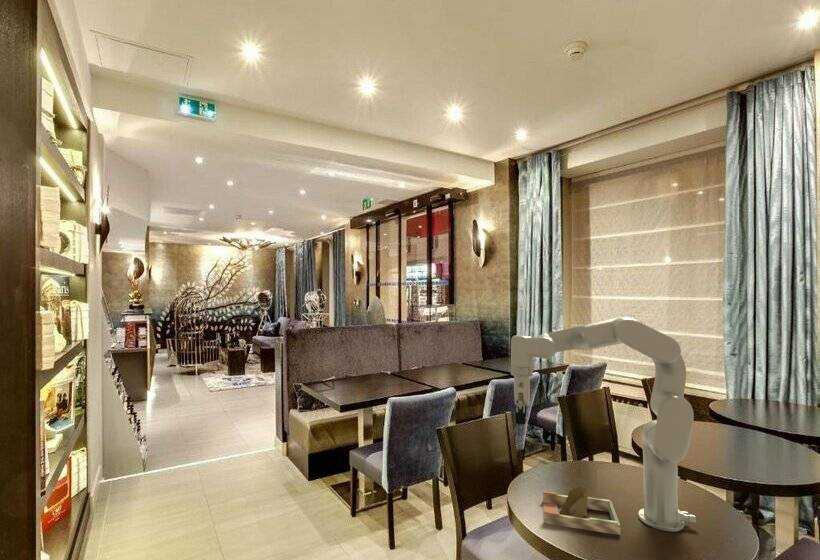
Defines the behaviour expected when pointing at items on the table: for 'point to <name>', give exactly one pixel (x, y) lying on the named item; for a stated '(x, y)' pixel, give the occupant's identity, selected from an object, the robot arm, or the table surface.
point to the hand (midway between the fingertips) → (521, 419)
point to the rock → (575, 503)
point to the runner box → (584, 523)
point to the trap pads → (550, 506)
